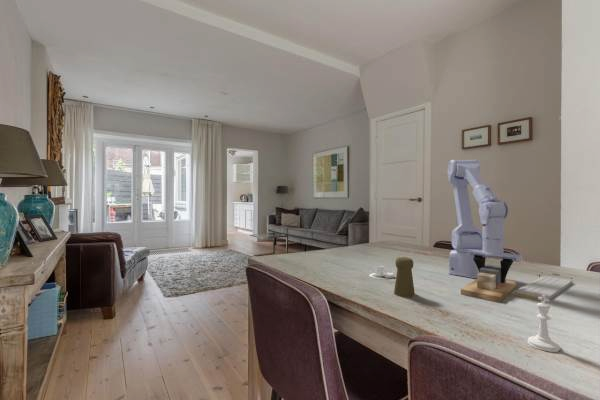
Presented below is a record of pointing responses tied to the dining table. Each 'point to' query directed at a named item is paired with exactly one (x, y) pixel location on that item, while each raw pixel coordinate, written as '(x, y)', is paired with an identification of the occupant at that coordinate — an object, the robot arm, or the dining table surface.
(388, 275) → the teacup and saucer
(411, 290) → the cork
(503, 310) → the dining table surface
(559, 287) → the baseboard
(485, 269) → the block
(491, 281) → the beige cube
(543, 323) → the chess piece
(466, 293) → the board
